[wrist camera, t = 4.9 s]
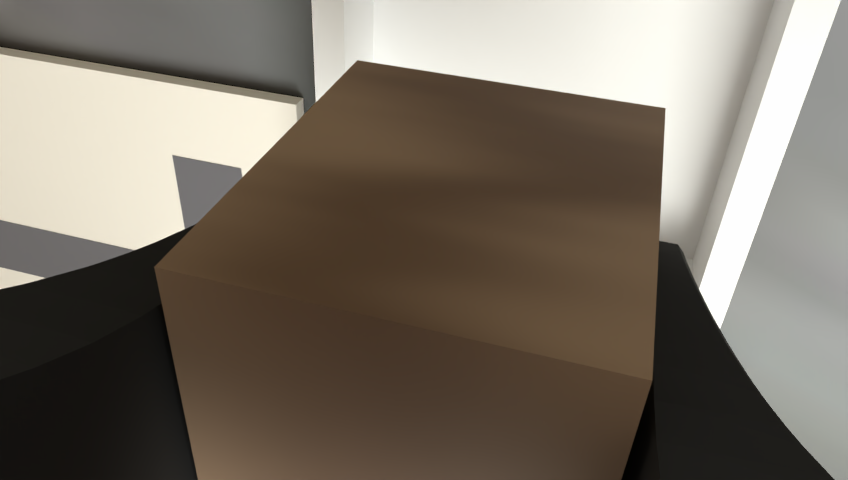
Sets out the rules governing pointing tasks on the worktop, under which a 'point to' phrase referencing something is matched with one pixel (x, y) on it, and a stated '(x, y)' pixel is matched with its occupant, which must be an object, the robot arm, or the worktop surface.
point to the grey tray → (627, 87)
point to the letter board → (116, 157)
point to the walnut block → (425, 288)
